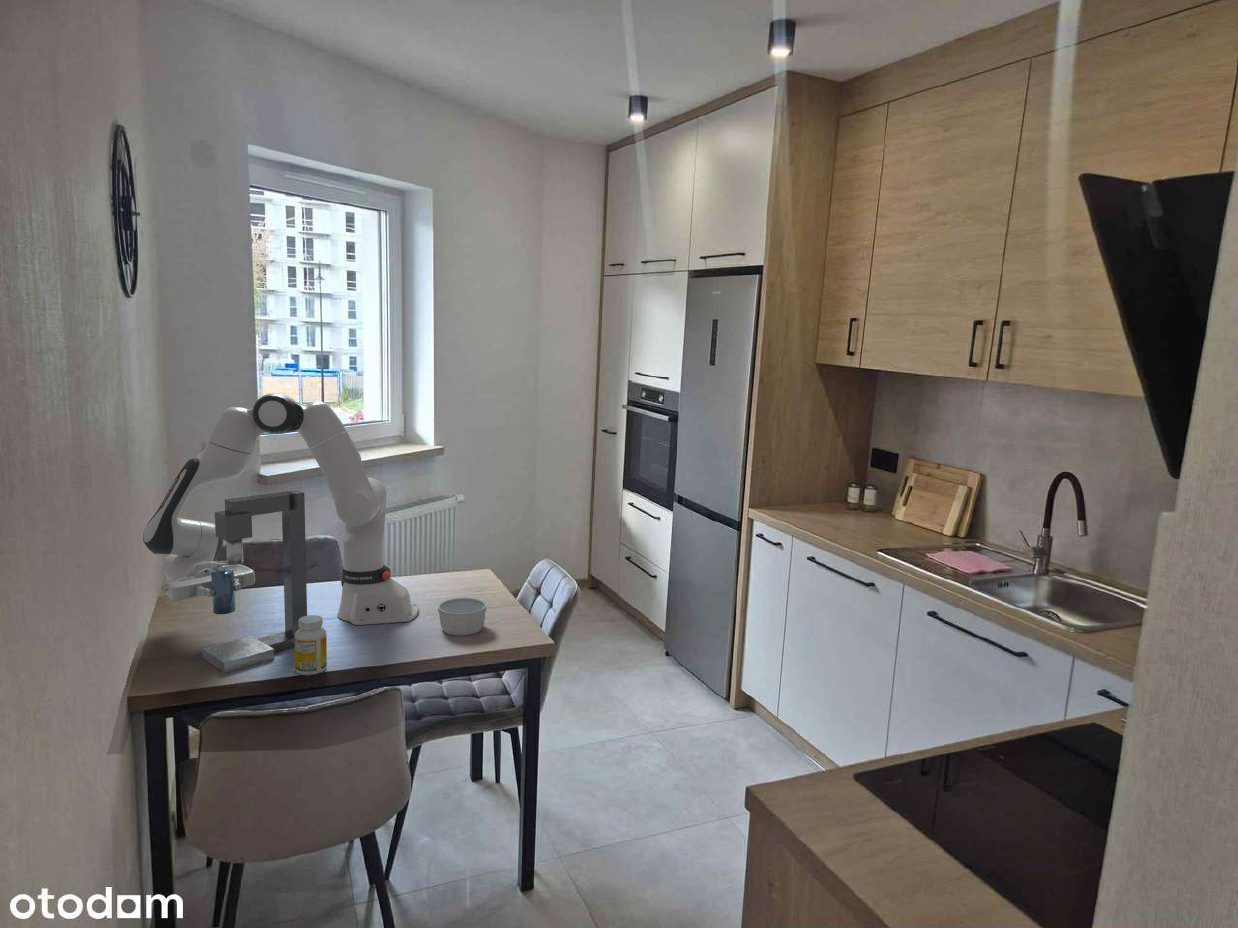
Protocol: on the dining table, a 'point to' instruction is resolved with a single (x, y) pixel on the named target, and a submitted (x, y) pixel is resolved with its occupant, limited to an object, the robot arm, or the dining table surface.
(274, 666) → the dining table surface
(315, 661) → the supplement bottle
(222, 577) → the blue bottle with knob
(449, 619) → the ramekin
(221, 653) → the press
